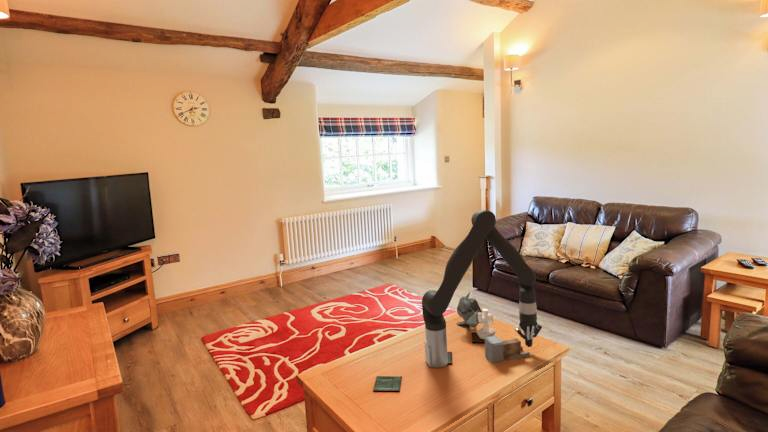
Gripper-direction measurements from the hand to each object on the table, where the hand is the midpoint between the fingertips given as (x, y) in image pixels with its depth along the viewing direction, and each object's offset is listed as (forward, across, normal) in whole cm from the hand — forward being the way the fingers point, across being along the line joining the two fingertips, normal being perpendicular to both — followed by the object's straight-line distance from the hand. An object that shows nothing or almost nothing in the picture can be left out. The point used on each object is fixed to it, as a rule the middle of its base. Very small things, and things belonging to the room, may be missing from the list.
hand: (528, 346), depth 196 cm
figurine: (+3, +12, -20) cm, 23 cm away
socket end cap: (+3, +17, 0) cm, 18 cm away
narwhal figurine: (+3, +15, -33) cm, 36 cm away
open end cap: (+3, +7, 0) cm, 7 cm away
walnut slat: (+3, +12, 0) cm, 12 cm away
